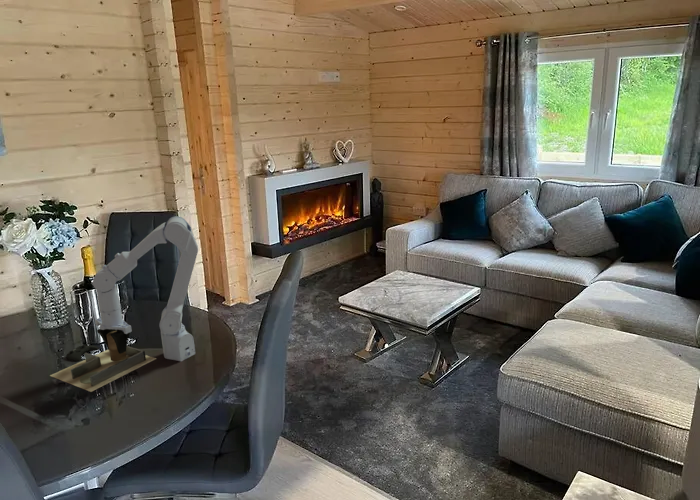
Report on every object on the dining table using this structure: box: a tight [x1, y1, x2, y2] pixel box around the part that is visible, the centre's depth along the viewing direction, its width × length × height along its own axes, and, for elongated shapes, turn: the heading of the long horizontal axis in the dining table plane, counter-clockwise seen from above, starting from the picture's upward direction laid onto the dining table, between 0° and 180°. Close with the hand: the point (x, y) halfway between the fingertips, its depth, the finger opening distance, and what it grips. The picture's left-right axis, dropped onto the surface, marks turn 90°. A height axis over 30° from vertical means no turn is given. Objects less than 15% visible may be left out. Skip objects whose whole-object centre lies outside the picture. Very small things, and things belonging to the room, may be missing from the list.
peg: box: [107, 331, 126, 361], centre depth 158 cm, size 4×4×8 cm
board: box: [49, 349, 157, 393], centre depth 157 cm, size 20×22×1 cm
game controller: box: [66, 344, 100, 363], centre depth 166 cm, size 10×5×6 cm
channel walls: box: [71, 345, 146, 387], centre depth 156 cm, size 16×18×3 cm
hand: (117, 350), depth 158 cm, fingers closed on peg, 4 cm apart
